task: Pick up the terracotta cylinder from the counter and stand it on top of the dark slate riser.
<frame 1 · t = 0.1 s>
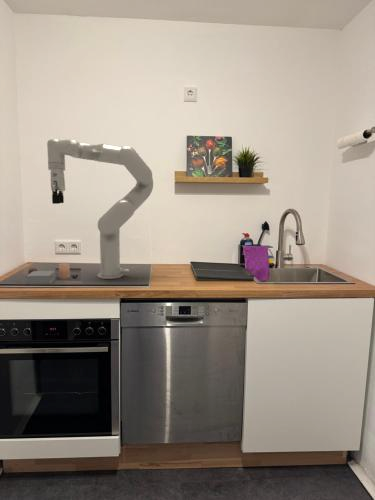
hand: (58, 203, 169), 36 cm above the counter, fingers open, 9 cm apart
slate riser: (41, 281, 165), on the counter
walnut cube: (33, 276, 175), on the counter
terracotta cylinder: (64, 277, 173), on the counter
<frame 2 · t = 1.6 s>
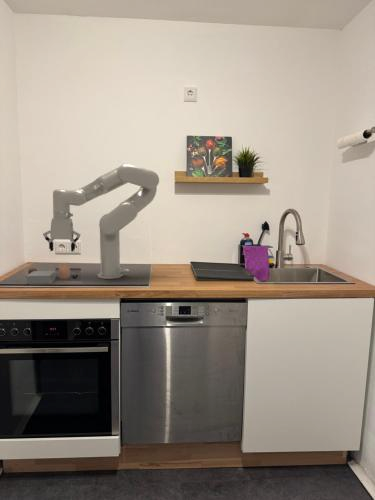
hand: (62, 250, 171), 13 cm above the counter, fingers open, 9 cm apart
nothing on the counter moved.
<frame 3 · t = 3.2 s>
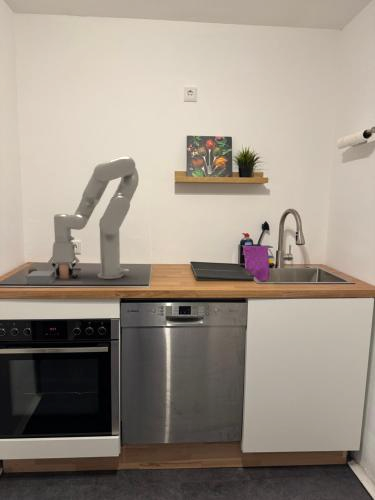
hand: (64, 275, 173), 1 cm above the counter, fingers closed on terracotta cylinder, 5 cm apart
terracotta cylinder: (64, 277, 173), on the counter, touching gripper
everything else where it was.
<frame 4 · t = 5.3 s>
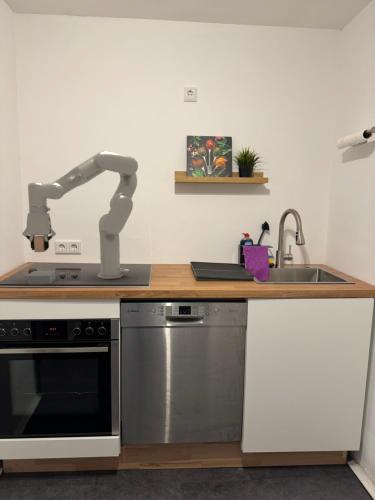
hand: (40, 249, 162), 15 cm above the counter, fingers closed on terracotta cylinder, 5 cm apart
terracotta cylinder: (40, 251, 163), point 14 cm above the counter, touching gripper
everything else where it was.
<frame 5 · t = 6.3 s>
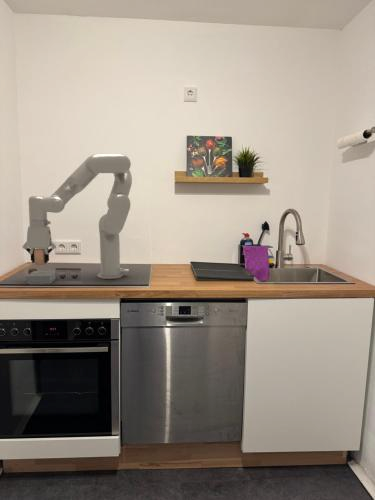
hand: (40, 262, 163), 9 cm above the counter, fingers closed on terracotta cylinder, 5 cm apart
terracotta cylinder: (40, 264, 163), point 8 cm above the counter, touching gripper
everything else where it was.
when the fingers open (7 cm above the counter, at t = 7.2 s): terracotta cylinder drops 2 cm, resting on slate riser.
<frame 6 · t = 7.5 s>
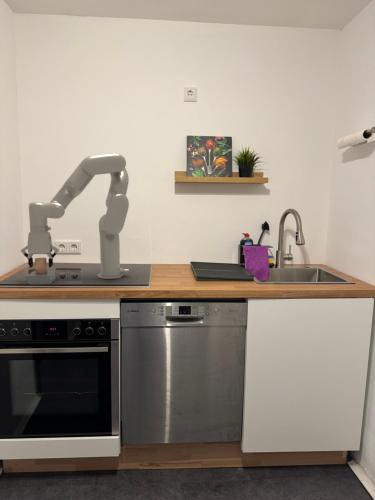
hand: (40, 266, 164), 7 cm above the counter, fingers open, 8 cm apart
terracotta cylinder: (41, 273, 164), point 4 cm above the counter, touching slate riser
everything else where it was.
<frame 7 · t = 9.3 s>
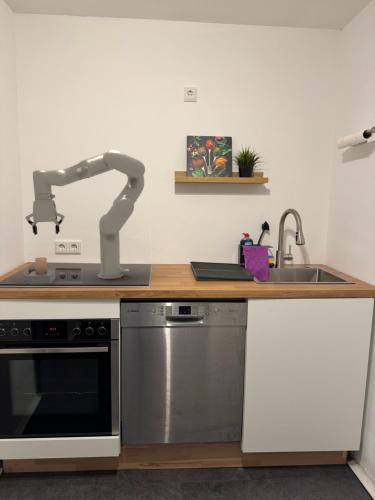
hand: (46, 234, 166), 22 cm above the counter, fingers open, 9 cm apart
nothing on the counter moved.
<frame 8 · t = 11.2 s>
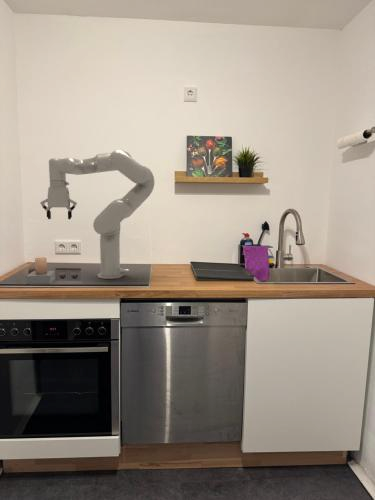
hand: (59, 219, 176), 28 cm above the counter, fingers open, 9 cm apart
nothing on the counter moved.
at the end: terracotta cylinder inside the target area on the slate riser (0.0 cm from its centre), point 4.0 cm above the slate riser's base; terracotta cylinder tilted 1°; the gripper is holding nothing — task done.
